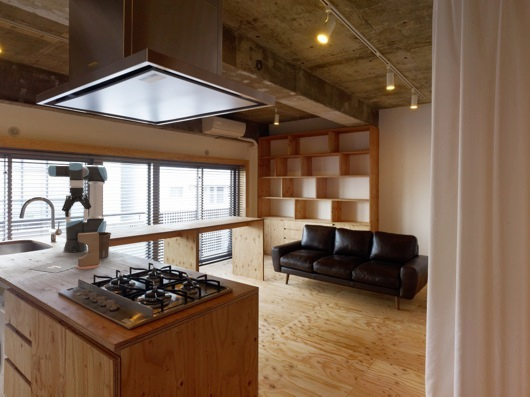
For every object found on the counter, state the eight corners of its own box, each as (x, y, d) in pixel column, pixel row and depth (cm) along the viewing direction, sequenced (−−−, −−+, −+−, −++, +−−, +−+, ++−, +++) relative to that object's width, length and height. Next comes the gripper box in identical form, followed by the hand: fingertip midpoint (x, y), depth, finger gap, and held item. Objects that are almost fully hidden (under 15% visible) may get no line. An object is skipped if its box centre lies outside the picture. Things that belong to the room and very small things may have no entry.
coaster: (88, 262, 213) (88, 261, 213) (104, 264, 209) (104, 263, 209) (71, 267, 201) (71, 266, 201) (88, 270, 197) (88, 269, 197)
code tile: (53, 262, 211) (53, 262, 211) (79, 266, 204) (79, 265, 204) (28, 269, 196) (28, 268, 196) (56, 273, 189) (56, 272, 189)
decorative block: (79, 267, 200) (78, 234, 199) (78, 265, 205) (77, 233, 203) (99, 264, 206) (98, 233, 205) (97, 262, 211) (97, 231, 210)
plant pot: (97, 260, 218) (97, 236, 217) (79, 258, 224) (79, 234, 223) (116, 255, 234) (116, 233, 233) (99, 253, 239) (99, 231, 238)
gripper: (87, 186, 219) (88, 217, 221) (54, 187, 195) (55, 223, 197) (96, 186, 217) (97, 218, 219) (64, 188, 193) (65, 223, 195)
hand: (77, 220), depth 208 cm, fingers open, 13 cm apart
